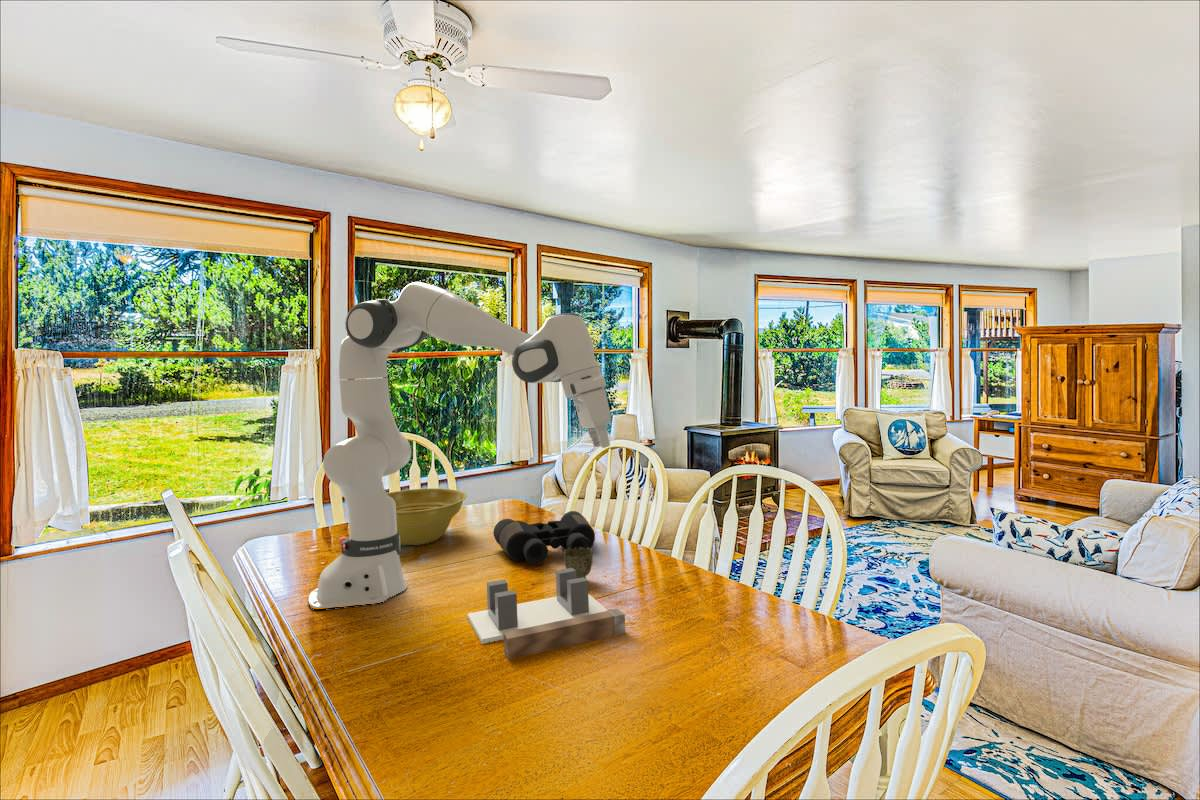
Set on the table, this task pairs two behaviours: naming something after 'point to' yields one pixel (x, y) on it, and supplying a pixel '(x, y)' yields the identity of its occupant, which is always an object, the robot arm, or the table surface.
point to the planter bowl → (425, 513)
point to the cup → (579, 560)
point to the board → (532, 607)
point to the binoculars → (543, 537)
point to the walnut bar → (563, 633)
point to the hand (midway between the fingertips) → (601, 446)
